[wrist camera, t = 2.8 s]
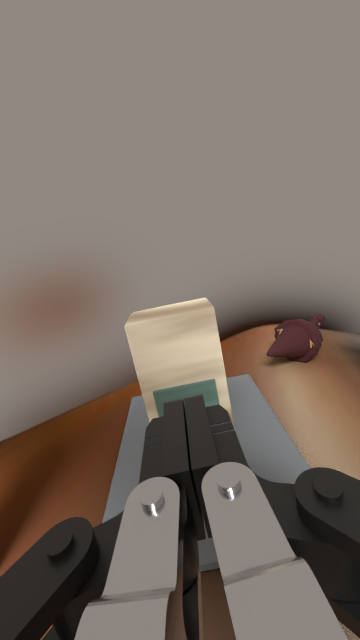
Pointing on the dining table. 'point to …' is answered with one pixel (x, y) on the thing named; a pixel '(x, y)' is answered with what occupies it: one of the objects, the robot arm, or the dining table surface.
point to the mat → (254, 437)
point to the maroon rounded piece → (298, 339)
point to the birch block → (178, 355)
